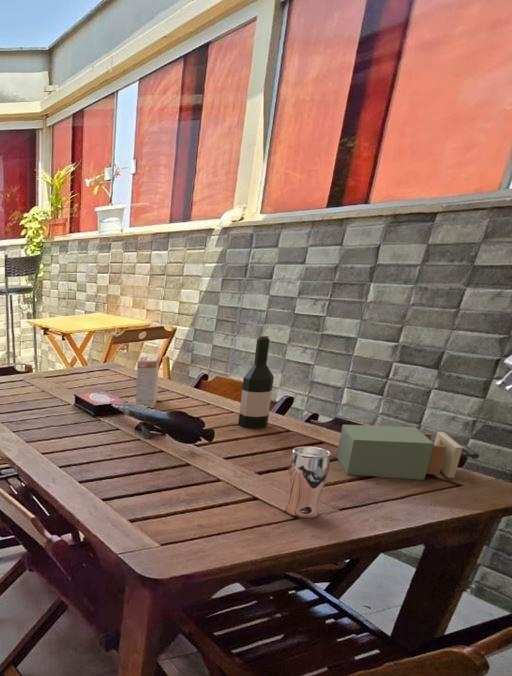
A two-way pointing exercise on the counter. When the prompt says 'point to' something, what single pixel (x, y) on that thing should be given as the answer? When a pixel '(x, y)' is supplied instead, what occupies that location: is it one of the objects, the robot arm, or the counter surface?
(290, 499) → the beer glass
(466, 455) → the drawer
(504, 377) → the robot arm
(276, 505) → the counter surface
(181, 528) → the counter surface
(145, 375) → the coffeecake box
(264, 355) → the wine bottle
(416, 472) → the cabinet
